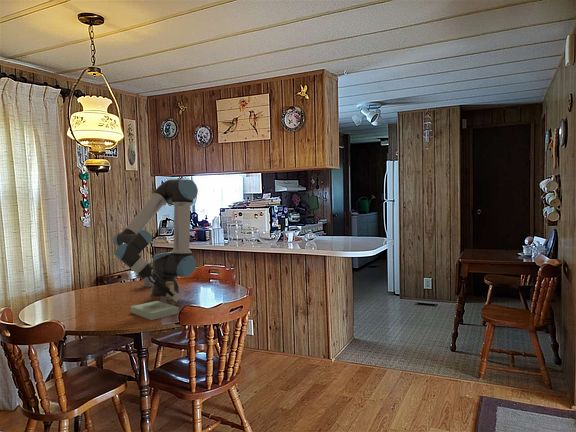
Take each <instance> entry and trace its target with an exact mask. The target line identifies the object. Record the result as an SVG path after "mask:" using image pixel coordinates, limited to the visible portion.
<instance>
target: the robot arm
mask: <svg viewBox="0 0 576 432" xmlns="http://www.w3.org/2000/svg"><path fill="white" fill-rule="evenodd" d="M198 192H199V191H198V185H197V184H196V183H195V181H194V180H193V179H190V178H176V179H173V178H172V179H168V180H165V181H164V182H162V183H161V184H160V185H159V186H158V187H157V188H155V190H154V191H153V192H152V193H151V197H150V199H149V200H148V201H147V202H146V203H145V205H144V206H143V207H142V208H141V209H140V210H139V212H138V213H137V214H136V215H135V216H134V218H133V219H132V220H131V221H130V223H129V224H128V225H127V226H126V228H125V229H123V231H122V232H119V233H116V234H115V235H114V236H113V239H112V240H113V241H112V242H113V245H114V246H115V247H117V248H116V249H115V250H114V251H113V255H114V256H115V257H116V258H117V259H118V260H119V261H121V262H122V263H123V264H124V265H126V266H127V267H128V268H129V269H131V272H134V273H135V274H137V276H138V277H139V278H141V279H142V280H143V279H144V278H145V277H146V276H147V277H148V278H149V280H150V282H152V283H153V286H151V295H153V296H166V294H168V295H169V296H170V297H171V298H172V299H173V300H175V303H177V302H178V300H180V299H181V295H180V294H179V293H180V287H179V284H178V282H177V279H176V277H180V278H187V277H190V276H192V274H193V273H195V271H196V268H197V261H196V259H195V257H194V256H193V251H191V249H190V235H191V234H190V228H191V226H190V225H191V206H193V204H194V200H195V199H196V198H197V196H198ZM170 201H171V204H172V205H173V207H174V208H173V209H174V210H173V211H174V212H173V249H172V250H171V251H168V252H161V253H156V254H154V255H153V258H152V259H153V260H152V265H153V264H154V265H153V266H154V267H153V266H152V265H150V262H147V261H148V260H146V259H145V258H144V257H142V256H141V255H140V253H142V251H144V250H145V249H146V247H147V246H148V245H149V244H150V243H151V242H152V240H153V236H152V234H151V233H150V232H149V231H147V230H146V227H147V225H148V224H149V223H150V222H151V221H152V220H153V218H154V217H155V216H156V214H157V213H158V212H159V211H160V210H161V209H162V208H163V206H166V205H167V204H168V203H169V202H170ZM153 270H154V271H153ZM151 271H153V272H151ZM166 282H174V292H173V291H172V290H171V289H169V288H168V287H167V286H166Z"/></svg>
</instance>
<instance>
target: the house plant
mask: <svg viewBox="0 0 576 432" xmlns="http://www.w3.org/2000/svg"><path fill="white" fill-rule="evenodd" d="M146 261H147V263H149V264H150V265H151V266H153V268H154V264H153V260H151V261H150V262H149V261H148V260H146ZM151 272H153V273H154V269H153V270H152V271H151ZM142 281H143V284H144V287H146V288H148V287H150V286H151V287H153V283H152V282H150V280H149V278H148V277H147V276H146V277H145V278H144V279H142Z"/></svg>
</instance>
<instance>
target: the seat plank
mask: <svg viewBox="0 0 576 432" xmlns="http://www.w3.org/2000/svg"><path fill="white" fill-rule="evenodd" d="M179 311H180V307H179V306H176V305H174V306H173V305H170V304H167V303H166V302H163V301H160V300H155V301H149V302H145V303H141V304H140V303H139V304H136V305H135V304H134V305H131V306H130V313H131V314H133V315H136V316H139V317H142V318H144V319H148V320H151V321H153V320H157V319H162V318H165V317H169V316H173V315H179V314H180V312H179ZM178 313H179V314H178Z"/></svg>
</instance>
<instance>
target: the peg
mask: <svg viewBox="0 0 576 432" xmlns="http://www.w3.org/2000/svg"><path fill="white" fill-rule="evenodd" d="M166 286H167V287H168V288H169V289H171V290H172V291H173V292H174V282H166ZM165 300H166V301H165V303H167V304H170V305H173V306H175V304H176V301H175V300H173V299H172V298H171V297H170V296H169V295H168V294H166V295H165Z"/></svg>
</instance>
